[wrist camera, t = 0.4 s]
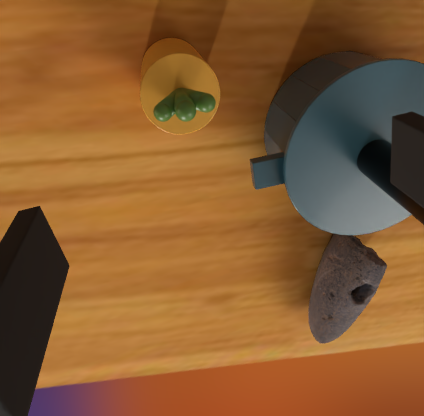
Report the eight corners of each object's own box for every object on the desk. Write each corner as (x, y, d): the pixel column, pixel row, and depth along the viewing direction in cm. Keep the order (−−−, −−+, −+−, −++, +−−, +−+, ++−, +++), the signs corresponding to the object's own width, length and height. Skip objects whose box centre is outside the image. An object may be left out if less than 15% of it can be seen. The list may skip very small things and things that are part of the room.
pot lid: (273, 79, 28) (340, 126, 18) (467, 38, 28) (632, 63, 19) (287, 244, 35) (340, 340, 25) (441, 209, 36) (550, 289, 26)
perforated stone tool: (324, 320, 51) (348, 364, 45) (286, 317, 49) (306, 362, 43) (370, 221, 44) (406, 257, 38) (328, 215, 43) (359, 252, 37)
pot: (226, 74, 34) (245, 94, 27) (434, 31, 35) (501, 40, 28) (245, 208, 41) (264, 249, 34) (419, 169, 41) (470, 202, 35)
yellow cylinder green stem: (133, 44, 32) (127, 75, 20) (196, 31, 32) (225, 55, 20) (149, 107, 34) (151, 166, 23) (207, 95, 34) (238, 147, 23)
